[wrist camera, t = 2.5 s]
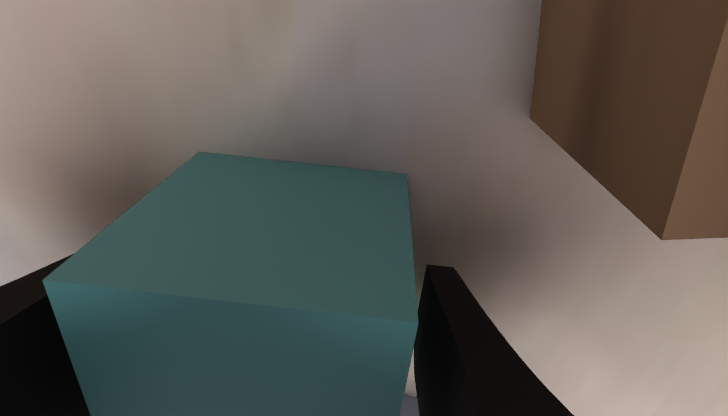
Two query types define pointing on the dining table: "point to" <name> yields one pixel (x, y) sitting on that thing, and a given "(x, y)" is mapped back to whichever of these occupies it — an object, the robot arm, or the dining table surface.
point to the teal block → (246, 294)
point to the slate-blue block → (409, 406)
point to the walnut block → (642, 104)
